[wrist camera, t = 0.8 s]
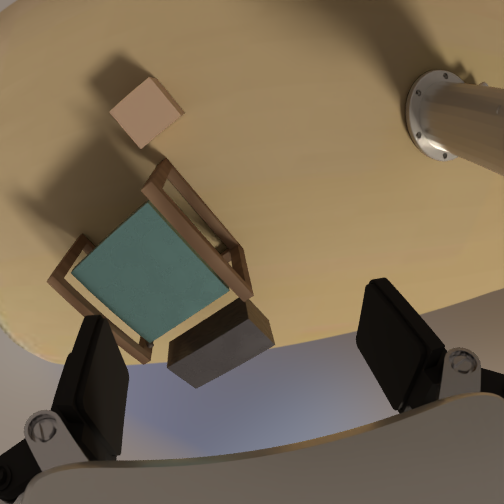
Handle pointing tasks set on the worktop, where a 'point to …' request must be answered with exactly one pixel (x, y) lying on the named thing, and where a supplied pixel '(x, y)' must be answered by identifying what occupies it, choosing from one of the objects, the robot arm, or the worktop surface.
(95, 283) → the chair seat and backrest
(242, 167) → the worktop surface
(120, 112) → the pinkish beige cube
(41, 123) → the worktop surface
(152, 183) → the frame
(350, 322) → the worktop surface
